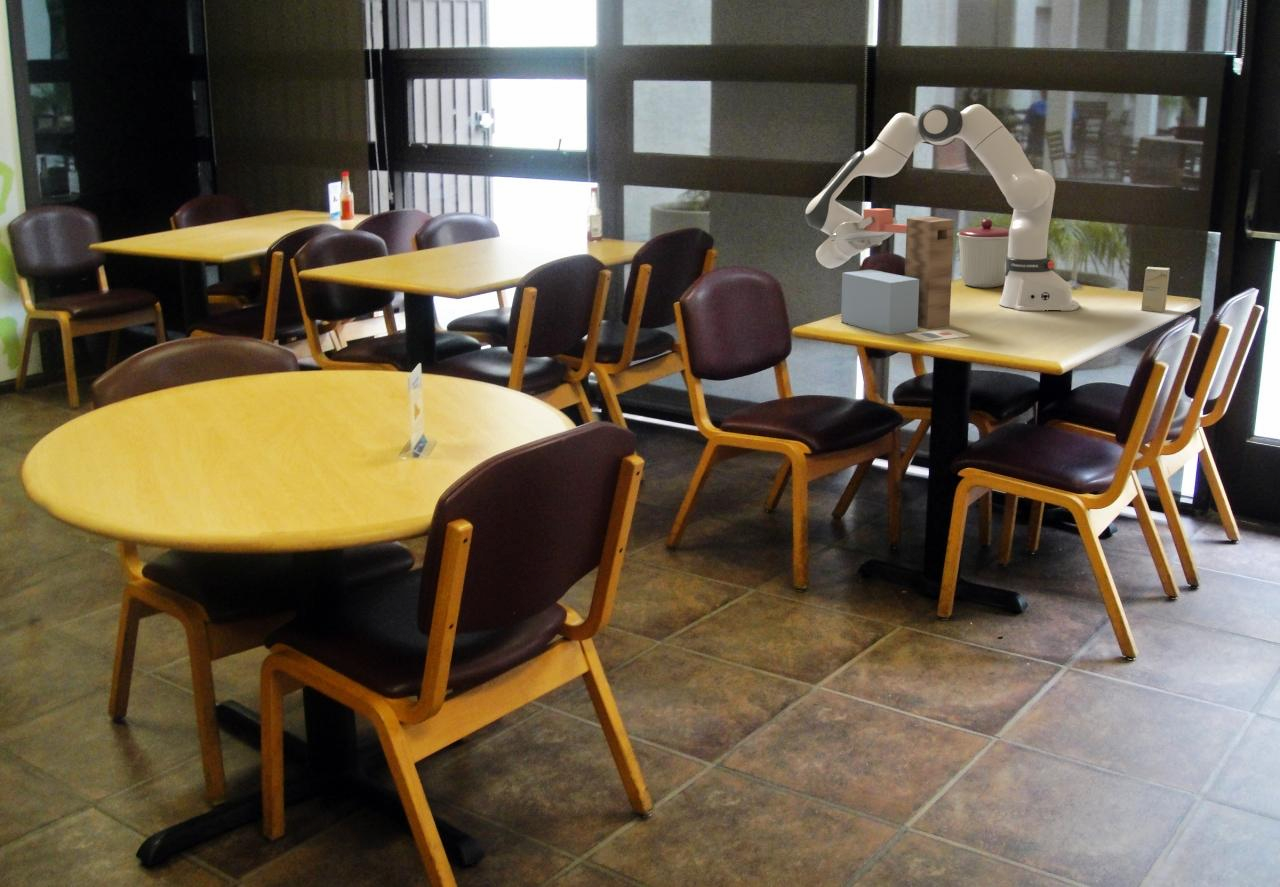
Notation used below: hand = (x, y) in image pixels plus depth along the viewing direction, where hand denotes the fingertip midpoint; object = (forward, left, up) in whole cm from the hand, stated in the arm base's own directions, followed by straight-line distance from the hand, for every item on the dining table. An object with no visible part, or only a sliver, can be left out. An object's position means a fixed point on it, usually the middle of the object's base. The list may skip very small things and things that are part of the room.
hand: (881, 218), depth 391 cm
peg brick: (-3, +3, -3) cm, 6 cm away
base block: (-3, +19, -27) cm, 33 cm away
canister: (-26, -53, -27) cm, 65 cm away
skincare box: (-76, -21, -27) cm, 83 cm away
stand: (-15, +13, -27) cm, 34 cm away
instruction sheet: (-20, +28, -27) cm, 44 cm away
